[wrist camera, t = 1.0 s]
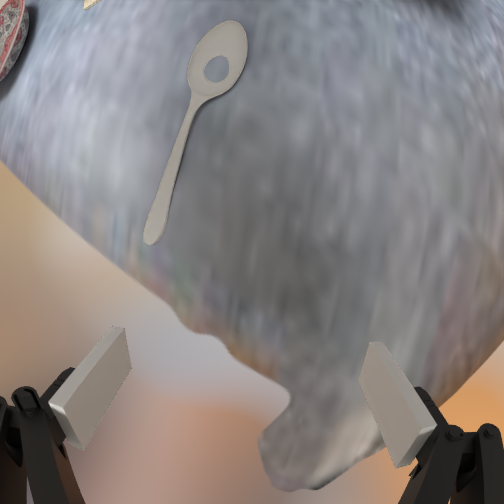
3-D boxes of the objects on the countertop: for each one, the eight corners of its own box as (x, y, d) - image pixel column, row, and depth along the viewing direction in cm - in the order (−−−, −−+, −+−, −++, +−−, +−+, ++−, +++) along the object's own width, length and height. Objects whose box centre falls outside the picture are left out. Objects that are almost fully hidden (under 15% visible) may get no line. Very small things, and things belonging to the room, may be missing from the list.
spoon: (216, 21, 30) (208, 15, 28) (266, 34, 29) (261, 27, 27) (137, 228, 45) (128, 232, 43) (175, 251, 45) (166, 256, 42)
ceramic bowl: (33, -11, 31) (13, -15, 24) (60, 14, 33) (34, 7, 26) (-12, 71, 43) (-31, 71, 35) (6, 116, 45) (-18, 118, 37)
